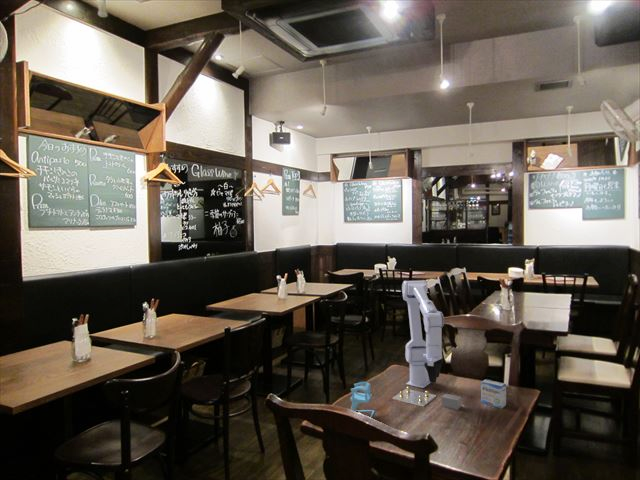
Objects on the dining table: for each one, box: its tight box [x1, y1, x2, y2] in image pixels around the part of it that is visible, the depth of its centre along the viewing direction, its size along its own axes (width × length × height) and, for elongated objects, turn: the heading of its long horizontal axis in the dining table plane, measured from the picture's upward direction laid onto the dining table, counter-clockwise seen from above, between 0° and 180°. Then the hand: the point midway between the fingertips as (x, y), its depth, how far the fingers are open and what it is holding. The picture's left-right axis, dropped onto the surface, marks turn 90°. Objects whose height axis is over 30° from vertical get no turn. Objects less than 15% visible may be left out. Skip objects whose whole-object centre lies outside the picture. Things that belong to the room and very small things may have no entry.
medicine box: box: [480, 378, 507, 409], centre depth 164 cm, size 8×4×9 cm, turn 47°
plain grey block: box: [441, 393, 462, 411], centre depth 163 cm, size 9×11×5 cm
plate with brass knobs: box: [392, 386, 437, 407], centre depth 172 cm, size 12×13×3 cm
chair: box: [349, 381, 375, 417], centre depth 157 cm, size 8×8×12 cm
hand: (434, 379), depth 167 cm, fingers open, 6 cm apart
